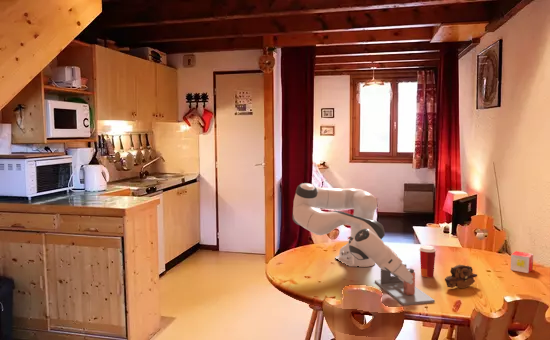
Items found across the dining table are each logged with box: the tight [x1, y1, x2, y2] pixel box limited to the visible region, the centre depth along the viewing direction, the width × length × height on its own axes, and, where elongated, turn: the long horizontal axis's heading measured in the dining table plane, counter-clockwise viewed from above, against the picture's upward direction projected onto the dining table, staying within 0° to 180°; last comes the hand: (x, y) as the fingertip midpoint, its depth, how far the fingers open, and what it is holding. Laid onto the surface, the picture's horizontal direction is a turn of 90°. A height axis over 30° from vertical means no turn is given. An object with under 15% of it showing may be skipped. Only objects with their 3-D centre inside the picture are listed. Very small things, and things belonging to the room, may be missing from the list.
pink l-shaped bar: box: [391, 267, 416, 295], centre depth 196 cm, size 19×4×10 cm, turn 11°
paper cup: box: [418, 245, 437, 278], centre depth 215 cm, size 8×8×14 cm
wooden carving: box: [444, 264, 478, 289], centre depth 199 cm, size 16×5×10 cm, turn 114°
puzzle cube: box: [510, 250, 534, 274], centre depth 222 cm, size 8×8×8 cm
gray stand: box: [374, 263, 436, 306], centre depth 195 cm, size 28×14×9 cm, turn 11°
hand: (407, 280), depth 190 cm, fingers closed on pink l-shaped bar, 6 cm apart
